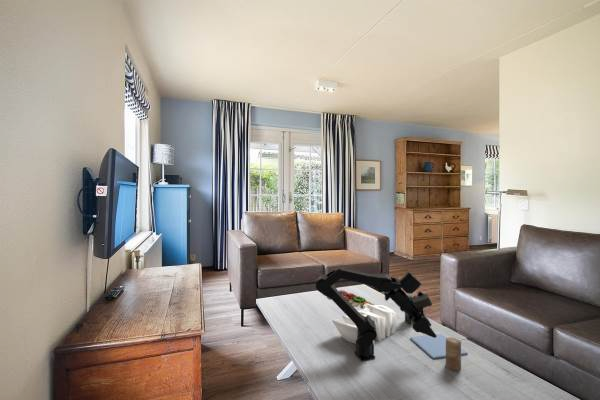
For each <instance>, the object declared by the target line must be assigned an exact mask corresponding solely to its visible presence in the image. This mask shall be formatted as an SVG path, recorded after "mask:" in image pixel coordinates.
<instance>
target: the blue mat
mask: <svg viewBox="0 0 600 400" xmlns="http://www.w3.org/2000/svg"><path fill="white" fill-rule="evenodd" d="M435 334H436V336H437V337H436V338H433V337H431V336H429V335H426V334H425V335H419V336H411V337H410V340H411V341H412V342H413V343H414V344H416V346H417V347H419V348H420V349H421V350H422V352H424V353H425V354H426V355H428V356H429V357H430V358H431V359H432V360H437V359H443V358H444V359H446V338H448V337H447V336H445V335H444V334H442V333H435ZM468 354H469V353H468V352H467V350H465V349H464V348H462V347H461V356H466V355H467V356H468Z"/></svg>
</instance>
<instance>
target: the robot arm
mask: <svg viewBox="0 0 600 400" xmlns="http://www.w3.org/2000/svg"><path fill="white" fill-rule="evenodd" d="M341 279H342V280H345V281H349V282H350V281H351V282H353V283H359V284H364V285H367V286H370V287H372V288H374V289H376V290H379V291H380V292H383V294H384V301H386V302H387V301H389V299H390V300H392V302H393V303H395V305H396V306H398V307H399V310H400V311H401V312H404V315H405V314H406V315H407V316H408V318H409V319H410V320H411V319H412V318H415V319H413V320H412V321H411V324H410V325H411V326H412V330H414V331H415V332H416V333H421V334H424V335H425V336H426V335H429V336H431V337H433V338H436V337H437V336H436V334H437V333H436V332H434V329H432V323H431V322H430V319H429V318H428V317H427V315H426V314H425V313H424V309H425V308H427V307H431V306H432V305H433V303H432V301H431V299H430V297H429V295H428V294H427V293H425V292H422V291H417V290H418V289H419V288H420V287H421V286H423V283H422V282H421V281H420V280H419V278H418V277H417V276H416V275H414V274H412V273H411V272H410V271H407V272H406V273H405V274H404V275H403V276H402V277H401V278H400V279H399V277H394V276H393V277H392V276H390V275H389V274H387V273H367V272H363V271H358V270H354V269H348V268H344V267H342V266H339V267H337V268H335V269H334V270H332V271H330V272H328V273H327V274H321V275H319V276H318V278H317V280H316V283H315V289H316V290H317V292H319V293H320V294H321V295H323V296H324V297H326V298H328V297H329V298H331V300H332V301H333V303H334V304H335V305H336V306H337V307H338V308H339V309H340V310H341V311H342V312H343V313H344V314H345V315H347V316H348V317H349V318H350V319H351V320H352V321H353V322H354V323H355V325H356V327H357V328H358V331H357V340H356V344H355V350H354V351H353V352H354V355H355V356H356V357H357V358H358V359H359V360H360V361H361V362H363V361H368V360H374V359H376V356H375V344H373V341H374V340H376V337H377V331H376V325H375V321H373V320H372V319H371V318H370V317H369V315H367V316H366V317H365V316H363V315H361V314H360V313H359V312H358V311H359V310H358V309H357V308H355V306H354V307H353V306H352V305H351V304H350V303H349V302H348V301H347V300H346V299H345V298H344V296H343V295H342V294H341V293H340V292H339V291H340V290H338V288H337V287H336V283H337V282H338V281H340V280H341ZM416 291H417V294H416V296H415V297H416V298H414V299H413V298H412V297H410V296H408V293H409V294H410V293H411V294H412V293H413V292H414V293H415V292H416Z"/></svg>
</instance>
